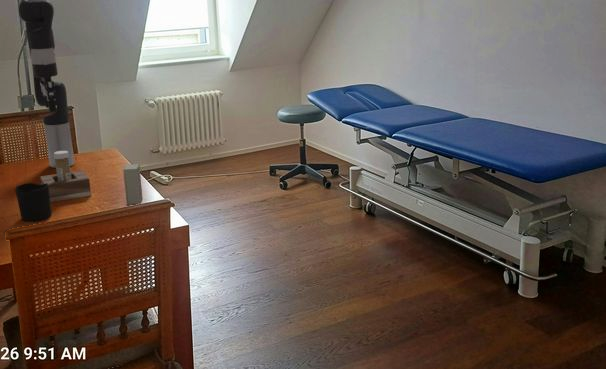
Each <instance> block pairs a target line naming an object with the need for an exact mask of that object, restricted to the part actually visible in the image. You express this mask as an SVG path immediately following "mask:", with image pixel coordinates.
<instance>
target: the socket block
mask: <svg viewBox="0 0 606 369" xmlns="http://www.w3.org/2000/svg"><path fill="white" fill-rule="evenodd" d="M70 172H71V179H70V180H64V181H58V177H57V173H56V174H48V175H42V176H39V178H40V185H42V184H45V183H48V185H49V194H50V203H54V202H55V203H56V202H60V201H66V200H72V199H79V198H85V197H90V196H91V197H92V191H91V184H90V178H89V176H87V174H86V173H85V172H84V170H77V171H76V170H75V171H70Z"/></svg>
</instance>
